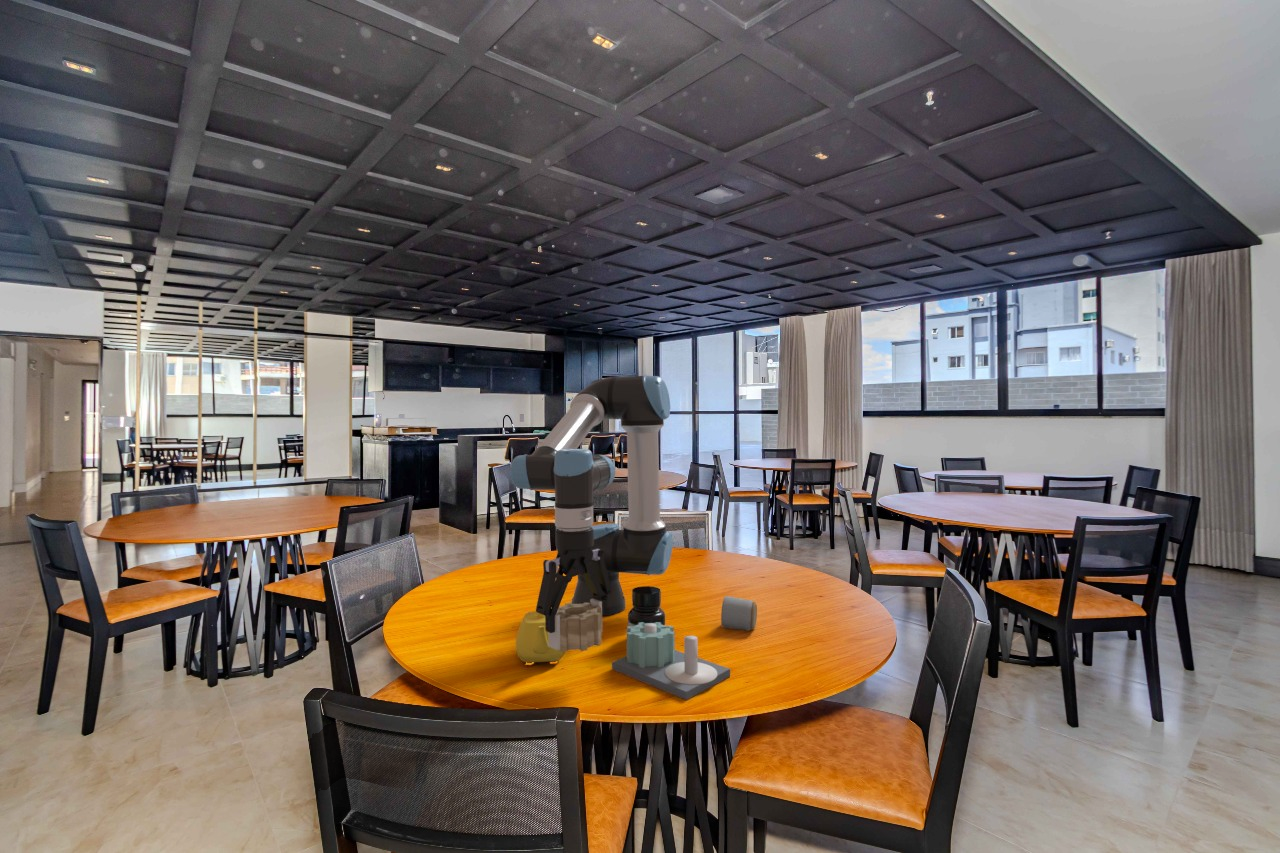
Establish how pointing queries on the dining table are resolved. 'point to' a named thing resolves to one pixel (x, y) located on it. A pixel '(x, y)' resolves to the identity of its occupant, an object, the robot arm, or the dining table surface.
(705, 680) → the gear board
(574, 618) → the birch gear
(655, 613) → the ink bottle
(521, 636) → the teapot
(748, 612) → the ceramic mug
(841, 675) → the dining table surface
